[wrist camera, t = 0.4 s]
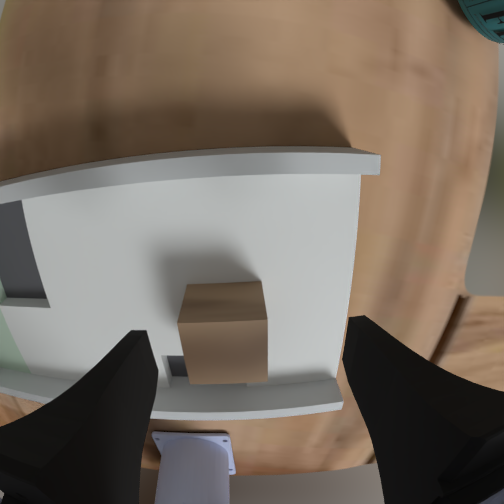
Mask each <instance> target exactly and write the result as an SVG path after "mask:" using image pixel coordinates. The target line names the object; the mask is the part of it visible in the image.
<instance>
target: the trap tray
mask: <svg viewBox="0 0 504 504" xmlns="http://www.w3.org/2000/svg"><path fill="white" fill-rule="evenodd" d="M380 160H381V155H379V154H375V153H371V152H368V151H364V150H360V149H356V148H351V147H320V146H268V147H237V148H218V149H202V150H189V151H178V152H167V153H157V154H148V155H140V156H132V157H124V158H117V159H110V160H104V161H97V162H91V163H85V164H79V165H74V166H68V167H63V168H58V169H53V170H48V171H43V172H38V173H34V174H29V175H25V176H21V177H16V178H12V179H8V180H4V181H1V182H0V392H1V393H4V394H8V395H11V396H15V397H19V398H23V399H27V400H31V401H35V402H40V403H44V404H47V403H49V402H50V401H52V400H53V399H55V398H56V397H58V396H59V395H61V394H62V393H63V392H65V391H66V390H67V389H69V388H70V387H71V386H72V385H74V384H75V383H76V382H77V381H79V380H80V379H81V378H82V377H83V376H84V375H85V374H86V373H87V372H89V371H90V370H91V369H92V368H93V367H94V366H95V365H96V364H97V363H98V362H99V361H100V360H101V359H102V358H103V357H104V356H105V355H106V354H107V353H108V352H109V351H110V350H111V349H112V348H113V347H114V346H115V345H116V344H117V343H118V342H119V341H120V340H121V339H122V338H123V337H124V336H125V335H126V334H127V333H128V332H129V331H131V330H147V334H148V337H149V341H150V344H151V348H152V351H153V354H154V358H155V361H156V364H157V367H158V370H159V373H158V382H157V390H156V397H155V401H154V405H153V409H152V413H151V417H150V418H152V419H170V420H242V419H261V418H274V417H286V416H296V415H304V414H313V413H320V412H327V411H334V410H340V409H342V405H343V402H344V401H343V398H342V395H341V392H340V390H339V387H338V384H337V381H336V374H337V369H338V364H339V359H340V353H341V348H342V342H343V336H344V330H345V324H346V318H347V311H348V305H349V298H350V290H351V283H352V275H353V266H354V257H355V248H356V237H357V226H358V213H359V199H360V181H361V175H380ZM252 281H262V287H263V293H264V299H265V306H266V312H267V318H268V382H254V383H233V384H190V382H189V378H188V373H187V369H186V364H185V360H184V355H183V350H182V346H181V341H180V336H179V331H178V326H177V321H178V317H179V313H180V309H181V305H182V301H183V298H184V294H185V290H186V286H187V284H208V283H231V282H252Z"/></svg>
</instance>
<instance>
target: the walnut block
mask: <svg viewBox="0 0 504 504" xmlns="http://www.w3.org/2000/svg"><path fill="white" fill-rule="evenodd" d="M177 326H178V331H179V336H180V341H181V346H182V350H183V355H184V360H185V364H186V369H187V373H188V378H189V382H190V384H233V383H254V382H268V318H267V312H266V306H265V299H264V293H263V287H262V281H252V282H231V283H208V284H187V286H186V290H185V294H184V298H183V301H182V305H181V309H180V313H179V317H178V321H177Z"/></svg>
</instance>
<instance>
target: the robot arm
mask: <svg viewBox="0 0 504 504" xmlns="http://www.w3.org/2000/svg"><path fill="white" fill-rule="evenodd" d="M342 360H343V364H344V368H345V372H346V376H347V379H348V383H349V385H350V387H351V390H352V392H353V395H354V397H355V400H356V402H357V404H358V407H359V409H360V411H361V414H362V416H363V419H364V421H365V423H366V426H367V428H368V431H369V434H370V437H371V440H372V444H373V448H374V452H375V456H376V460H377V464H378V469H379V473H380V478H381V484H382V489H383V496H384V502H385V504H504V392H502V391H498V390H495V389H491V388H488V387H485V386H482V385H479V384H476V383H473V382H471V381H468V380H466V379H463V378H461V377H458V376H456V375H454V374H452V373H450V372H448V371H446V370H444V369H442V368H440V367H438V366H437V365H435V364H433V363H431V362H429V361H428V360H426V359H425V358H423V357H422V356H420V355H418V354H417V353H415V352H414V351H412V350H411V349H409V348H408V347H407V346H405V345H404V344H402V343H401V342H400V341H398V340H397V339H395V338H394V337H393V336H391V335H390V334H389V333H388V332H386V331H385V330H384V329H382V328H381V327H380V326H378V325H377V324H376V323H374V322H373V321H372V320H370V319H369V318H368V317H366V316H365V315H363V316H355V317H349V320H348V327H347V333H346V340H345V346H344V352H343V358H342ZM158 373H159V370H158V367H157V364H156V361H155V358H154V354H153V351H152V348H151V344H150V341H149V337H148V334H147V330H131V331H129V332H128V333H127V334H126V335H125V336H124V337H123V338H122V339H121V340H120V341H119V342H118V343H117V344H116V345H115V346H114V347H113V348H112V349H111V350H110V351H109V352H108V353H107V354H106V355H105V356H104V357H103V358H102V359H101V360H100V361H99V362H98V363H97V364H96V365H95V366H94V367H93V368H92V369H91V370H90V371H89V372H87V373H86V374H85V375H84V376H83V377H82V378H81V379H80V380H79V381H77V382H76V383H75V384H74V385H72V386H71V387H70V388H69V389H67V390H66V391H65V392H63V393H62V394H61V395H59V396H58V397H56V398H55V399H53V400H52V401H50V402H49V403H47V404H45V405H44V406H42V407H41V408H39V409H37V410H36V411H34V412H32V413H30V414H28V415H26V416H24V417H22V418H20V419H18V420H16V421H14V422H11V423H9V424H6V425H4V426H1V427H0V490H1V491H2V492H4V496H3V499H1V498H0V504H139V483H140V482H139V481H140V469H141V459H142V451H143V445H144V441H145V437H146V433H147V428H148V424H149V420H150V417H151V413H152V409H153V405H154V401H155V397H156V390H157V382H158ZM152 438H153V440H154V442H155V444H156V446H157V448H158V450H159V451H160V453H161V462H160V469H159V476H158V484H157V491H156V499H155V504H229V475H230V474H235V473H236V470H235V464H234V458H233V452H232V446H231V440H230V435H229V434H227V433H174V432H157V431H154V432H152Z"/></svg>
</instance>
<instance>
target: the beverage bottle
mask: <svg viewBox="0 0 504 504" xmlns="http://www.w3.org/2000/svg"><path fill="white" fill-rule="evenodd" d="M458 2H459V4H460V6H461V8H462V10H463V12H464V14H465V15H466V17H467V19H468V20H469V21H470V23H471V24H472V25H473V27H474V28H475V29H476V30H477V31H478V32H479V33H480V34H482V35H483V36H484V37H486V38H487V39H489V40H491V41H494V42H497V43H498V42H499V43H504V0H458Z"/></svg>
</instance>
